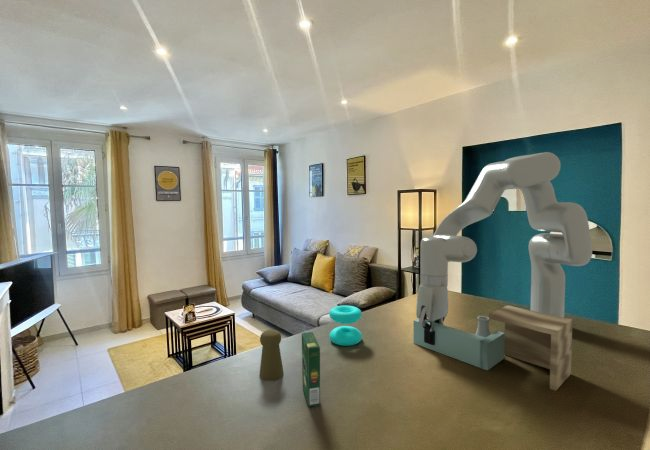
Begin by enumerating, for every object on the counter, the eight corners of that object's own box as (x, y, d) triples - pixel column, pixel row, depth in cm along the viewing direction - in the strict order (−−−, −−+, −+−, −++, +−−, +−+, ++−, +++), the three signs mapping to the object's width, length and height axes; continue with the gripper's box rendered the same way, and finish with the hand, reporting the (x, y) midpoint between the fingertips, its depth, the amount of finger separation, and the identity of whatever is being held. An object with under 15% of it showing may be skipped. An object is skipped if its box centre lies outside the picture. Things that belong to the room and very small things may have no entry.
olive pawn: (287, 370, 83) (286, 328, 83) (276, 382, 78) (275, 337, 77) (266, 366, 85) (265, 325, 85) (254, 378, 79) (253, 334, 79)
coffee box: (321, 406, 68) (320, 345, 67) (308, 408, 67) (307, 347, 67) (314, 385, 76) (313, 331, 75) (302, 387, 75) (301, 332, 75)
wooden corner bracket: (506, 353, 91) (507, 305, 90) (570, 374, 80) (572, 319, 79) (488, 365, 84) (488, 314, 83) (555, 390, 73) (557, 330, 72)
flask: (496, 360, 87) (497, 324, 86) (467, 354, 91) (467, 319, 90) (498, 350, 93) (498, 316, 93) (470, 345, 97) (471, 312, 96)
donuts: (365, 306, 103) (356, 316, 94) (365, 336, 104) (356, 349, 95) (335, 302, 107) (324, 312, 98) (336, 332, 108) (324, 344, 99)
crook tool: (432, 334, 105) (432, 313, 105) (504, 358, 88) (504, 333, 88) (413, 343, 99) (413, 320, 98) (487, 370, 82) (488, 343, 81)
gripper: (437, 273, 102) (437, 331, 103) (405, 282, 92) (405, 345, 93) (460, 277, 96) (459, 338, 97) (429, 287, 86) (428, 354, 87)
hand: (433, 341), depth 95 cm, fingers closed on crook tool, 3 cm apart
